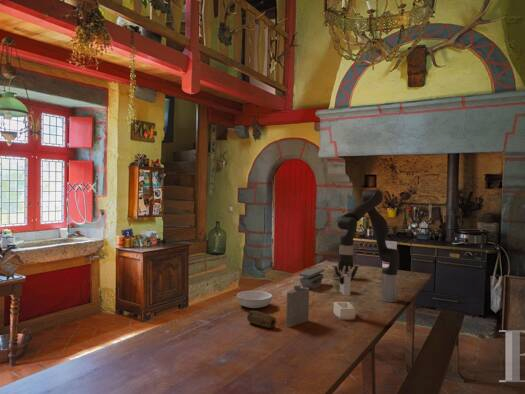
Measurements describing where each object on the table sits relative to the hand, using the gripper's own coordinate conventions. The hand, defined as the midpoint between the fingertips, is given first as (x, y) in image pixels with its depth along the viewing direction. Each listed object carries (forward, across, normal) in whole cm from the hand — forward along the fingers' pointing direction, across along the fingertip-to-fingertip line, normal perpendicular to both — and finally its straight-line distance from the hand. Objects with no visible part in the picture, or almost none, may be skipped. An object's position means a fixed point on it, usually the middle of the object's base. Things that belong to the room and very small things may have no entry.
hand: (345, 283), depth 220 cm
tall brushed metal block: (+5, 0, 0) cm, 5 cm away
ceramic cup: (+18, -15, -50) cm, 55 cm away
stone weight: (+18, +48, +12) cm, 53 cm away
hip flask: (+18, +29, +10) cm, 36 cm away
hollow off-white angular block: (+18, 0, 0) cm, 18 cm away
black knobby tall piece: (+18, -30, -89) cm, 96 cm away
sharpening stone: (+18, +2, -64) cm, 67 cm away
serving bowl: (+18, +48, -20) cm, 55 cm away
